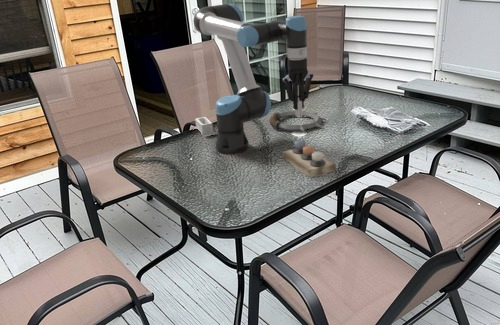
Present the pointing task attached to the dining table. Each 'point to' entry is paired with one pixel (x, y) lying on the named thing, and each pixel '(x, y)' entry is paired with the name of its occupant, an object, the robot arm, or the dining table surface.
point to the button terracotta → (308, 150)
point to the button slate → (299, 144)
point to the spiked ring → (279, 125)
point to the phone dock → (204, 126)
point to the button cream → (317, 156)
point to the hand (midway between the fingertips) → (298, 116)
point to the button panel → (308, 162)
